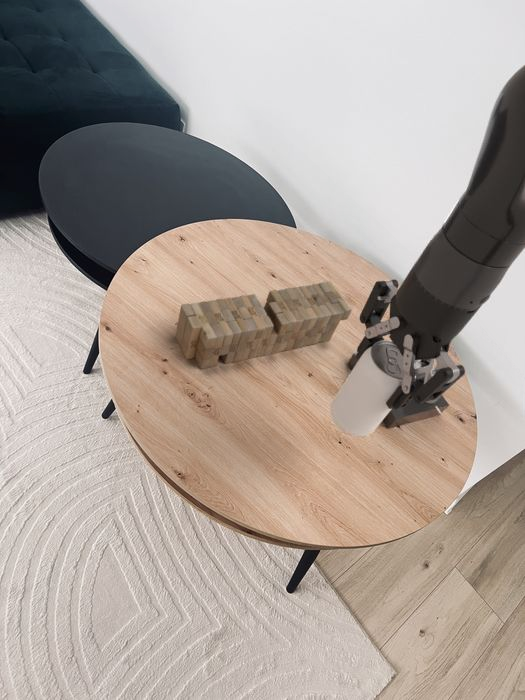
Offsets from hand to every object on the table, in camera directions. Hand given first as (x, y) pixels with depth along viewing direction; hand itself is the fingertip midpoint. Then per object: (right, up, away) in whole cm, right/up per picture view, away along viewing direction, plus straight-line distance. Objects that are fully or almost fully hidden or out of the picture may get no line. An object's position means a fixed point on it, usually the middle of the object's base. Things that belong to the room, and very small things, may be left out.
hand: (377, 381), depth 63 cm
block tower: (-14, +6, +30) cm, 34 cm away
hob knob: (+14, -4, +28) cm, 32 cm away
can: (-2, -5, +6) cm, 8 cm away
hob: (+9, -3, +31) cm, 32 cm away
